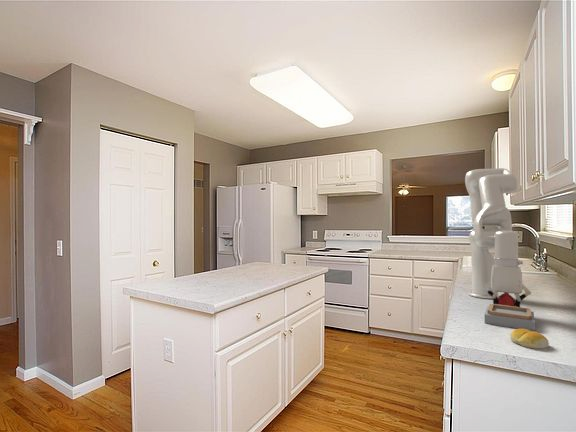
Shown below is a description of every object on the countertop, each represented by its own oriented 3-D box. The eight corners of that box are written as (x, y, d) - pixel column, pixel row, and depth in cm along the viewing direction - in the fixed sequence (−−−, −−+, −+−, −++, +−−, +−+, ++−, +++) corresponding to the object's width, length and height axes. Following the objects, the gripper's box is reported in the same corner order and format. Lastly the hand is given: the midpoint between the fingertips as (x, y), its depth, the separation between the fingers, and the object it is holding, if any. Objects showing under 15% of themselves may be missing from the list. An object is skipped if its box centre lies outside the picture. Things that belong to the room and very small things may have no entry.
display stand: (487, 313, 125) (487, 302, 125) (533, 320, 116) (533, 308, 116) (484, 323, 113) (484, 311, 113) (535, 330, 105) (534, 317, 105)
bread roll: (525, 337, 100) (525, 324, 100) (554, 348, 91) (554, 334, 91) (502, 339, 98) (502, 326, 98) (530, 350, 90) (529, 336, 90)
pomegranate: (502, 314, 123) (501, 293, 123) (494, 309, 129) (494, 289, 129) (518, 314, 122) (518, 293, 122) (510, 310, 128) (510, 289, 128)
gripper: (533, 263, 123) (534, 310, 123) (481, 260, 133) (481, 304, 133) (534, 266, 117) (534, 316, 117) (479, 262, 127) (479, 308, 127)
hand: (506, 309), depth 125 cm, fingers closed on pomegranate, 5 cm apart
